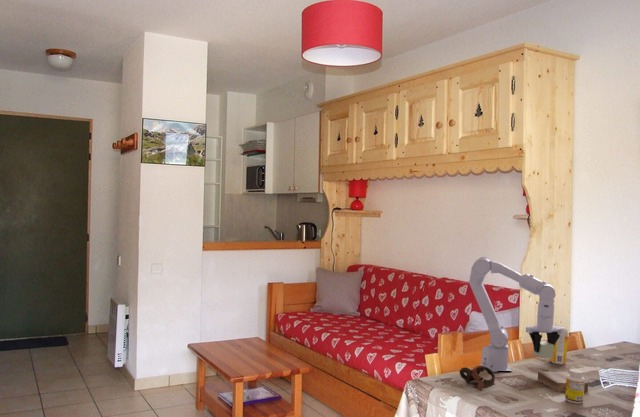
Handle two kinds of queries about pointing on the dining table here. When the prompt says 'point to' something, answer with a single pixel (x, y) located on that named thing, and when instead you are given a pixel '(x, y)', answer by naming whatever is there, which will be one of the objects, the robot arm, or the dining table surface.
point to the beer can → (560, 348)
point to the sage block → (545, 350)
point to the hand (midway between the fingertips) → (543, 351)
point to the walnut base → (556, 380)
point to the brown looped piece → (477, 376)
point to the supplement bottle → (575, 386)
